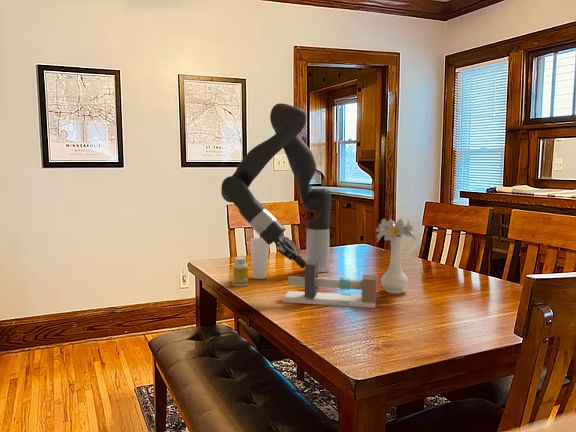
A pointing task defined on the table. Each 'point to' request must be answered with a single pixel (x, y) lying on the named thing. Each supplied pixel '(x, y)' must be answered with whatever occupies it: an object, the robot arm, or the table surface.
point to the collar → (311, 278)
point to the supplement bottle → (240, 272)
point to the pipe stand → (335, 299)
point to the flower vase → (394, 254)
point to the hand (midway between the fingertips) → (304, 266)
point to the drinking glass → (259, 258)
